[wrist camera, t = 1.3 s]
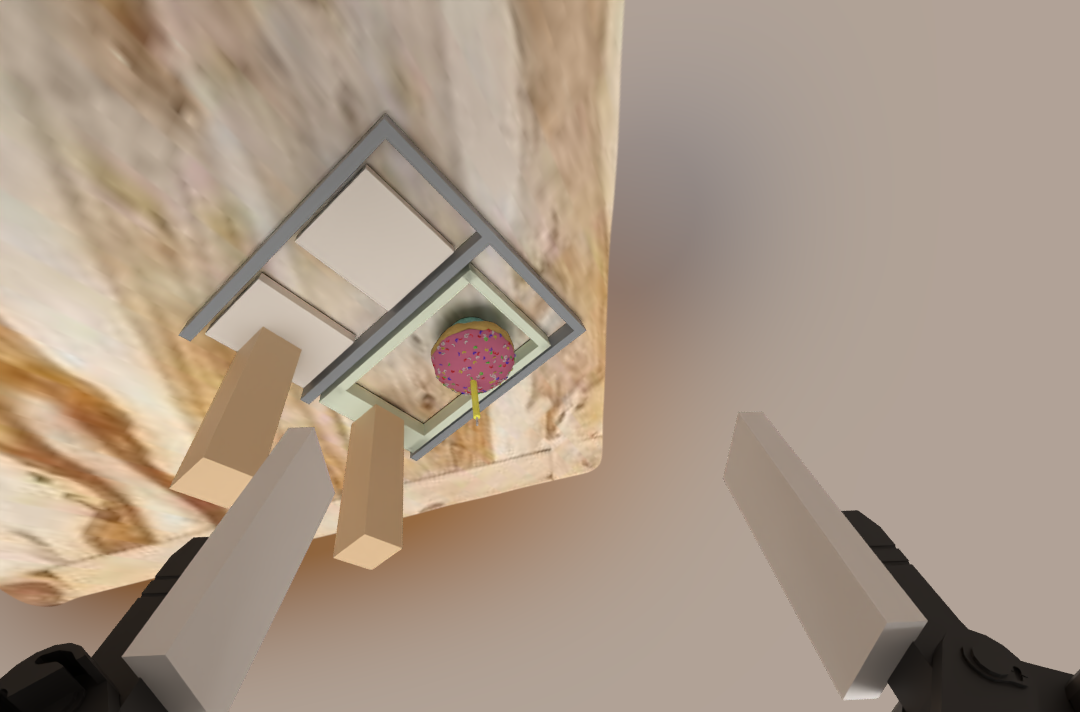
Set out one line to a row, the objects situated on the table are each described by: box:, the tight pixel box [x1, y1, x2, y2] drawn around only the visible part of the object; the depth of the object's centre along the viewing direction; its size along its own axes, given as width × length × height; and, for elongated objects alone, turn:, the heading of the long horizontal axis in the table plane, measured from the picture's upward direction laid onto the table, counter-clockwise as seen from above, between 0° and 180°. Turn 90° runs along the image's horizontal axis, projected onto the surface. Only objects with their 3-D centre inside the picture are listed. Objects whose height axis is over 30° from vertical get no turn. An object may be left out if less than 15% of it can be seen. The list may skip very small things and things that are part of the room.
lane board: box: [179, 114, 586, 461], centre depth 47 cm, size 27×28×2 cm
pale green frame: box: [319, 262, 551, 570], centre depth 44 cm, size 22×13×18 cm, turn 128°
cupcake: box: [431, 317, 516, 426], centre depth 46 cm, size 9×8×12 cm
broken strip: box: [169, 165, 454, 508], centre depth 37 cm, size 22×10×17 cm, turn 128°
